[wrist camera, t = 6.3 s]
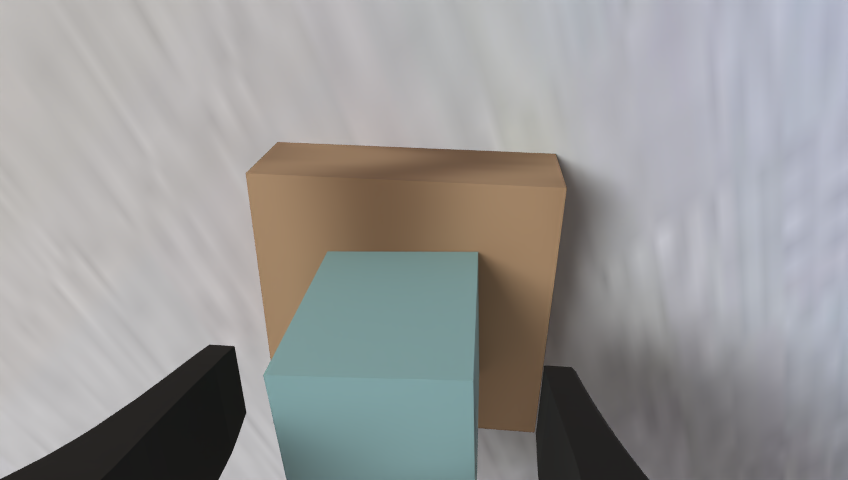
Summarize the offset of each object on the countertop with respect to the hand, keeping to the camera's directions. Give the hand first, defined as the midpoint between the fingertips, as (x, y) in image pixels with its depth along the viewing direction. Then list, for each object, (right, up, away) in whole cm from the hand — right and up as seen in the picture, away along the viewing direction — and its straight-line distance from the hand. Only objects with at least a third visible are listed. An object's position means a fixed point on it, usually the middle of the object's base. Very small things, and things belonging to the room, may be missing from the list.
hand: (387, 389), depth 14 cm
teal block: (0, +1, +3) cm, 3 cm away
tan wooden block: (+1, +3, +5) cm, 6 cm away
